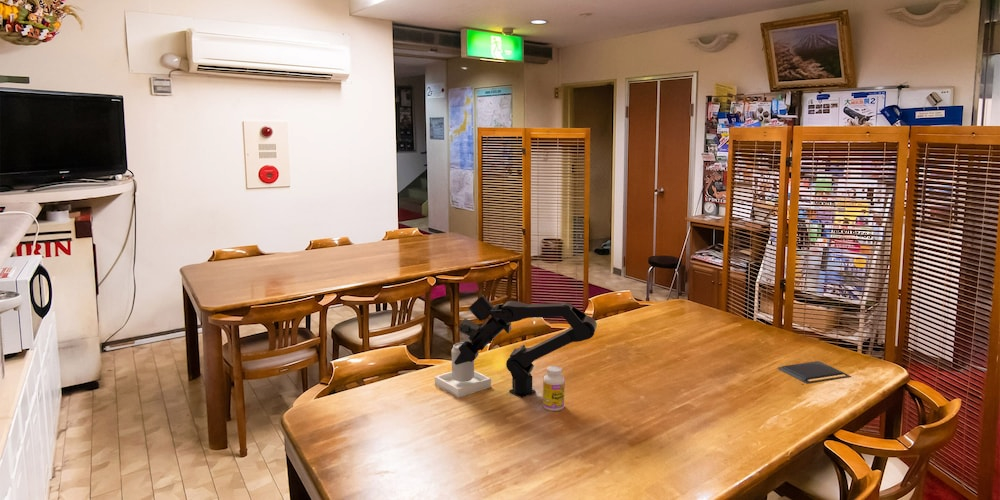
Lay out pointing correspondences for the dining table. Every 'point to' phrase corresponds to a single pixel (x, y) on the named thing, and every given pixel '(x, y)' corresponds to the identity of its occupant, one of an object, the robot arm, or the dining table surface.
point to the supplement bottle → (553, 389)
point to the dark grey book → (813, 372)
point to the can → (461, 366)
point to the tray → (462, 384)
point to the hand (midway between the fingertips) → (459, 359)
